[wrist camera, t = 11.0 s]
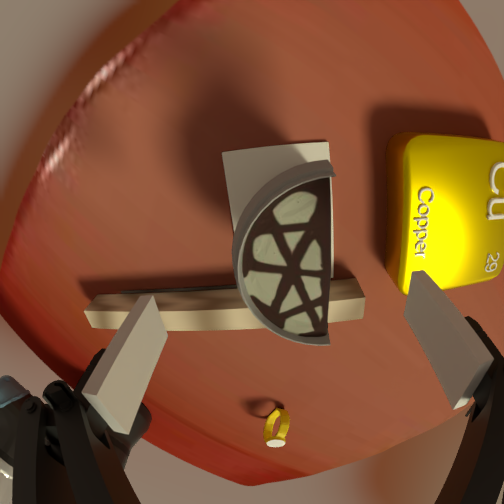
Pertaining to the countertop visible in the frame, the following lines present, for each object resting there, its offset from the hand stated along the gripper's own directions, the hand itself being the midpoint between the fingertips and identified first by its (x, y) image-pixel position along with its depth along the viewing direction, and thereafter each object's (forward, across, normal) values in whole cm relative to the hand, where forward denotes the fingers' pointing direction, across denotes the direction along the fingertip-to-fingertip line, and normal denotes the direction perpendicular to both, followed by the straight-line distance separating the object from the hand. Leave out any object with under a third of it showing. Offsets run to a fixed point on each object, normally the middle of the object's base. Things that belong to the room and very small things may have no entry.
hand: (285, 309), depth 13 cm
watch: (+14, +2, +31) cm, 34 cm away
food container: (+13, 0, 0) cm, 13 cm away
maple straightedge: (+13, +8, +8) cm, 17 cm away
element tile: (+14, -18, 0) cm, 23 cm away
